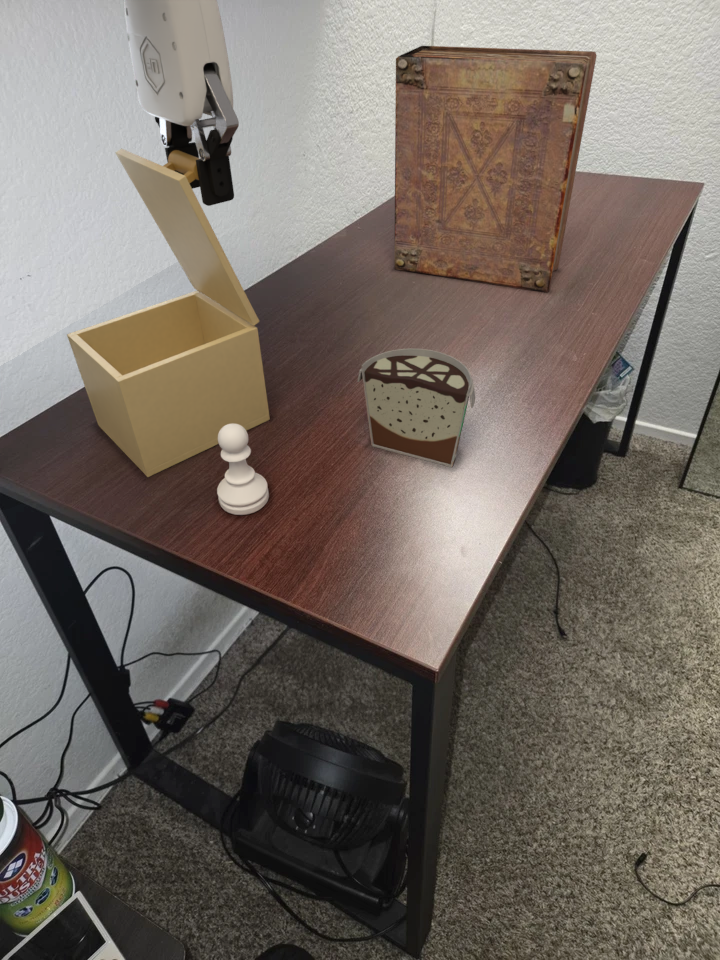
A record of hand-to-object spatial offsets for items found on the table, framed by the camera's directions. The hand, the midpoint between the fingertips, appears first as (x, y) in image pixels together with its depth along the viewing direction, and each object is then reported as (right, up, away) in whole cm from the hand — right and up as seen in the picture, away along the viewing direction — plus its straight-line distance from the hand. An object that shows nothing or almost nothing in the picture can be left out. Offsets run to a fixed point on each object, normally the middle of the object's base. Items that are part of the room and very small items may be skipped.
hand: (203, 193), depth 65 cm
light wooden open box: (-5, -22, +12) cm, 25 cm away
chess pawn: (+4, -30, +2) cm, 30 cm away
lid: (-2, -4, +1) cm, 5 cm away
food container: (+22, -24, +9) cm, 34 cm away
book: (+34, +6, +43) cm, 55 cm away
